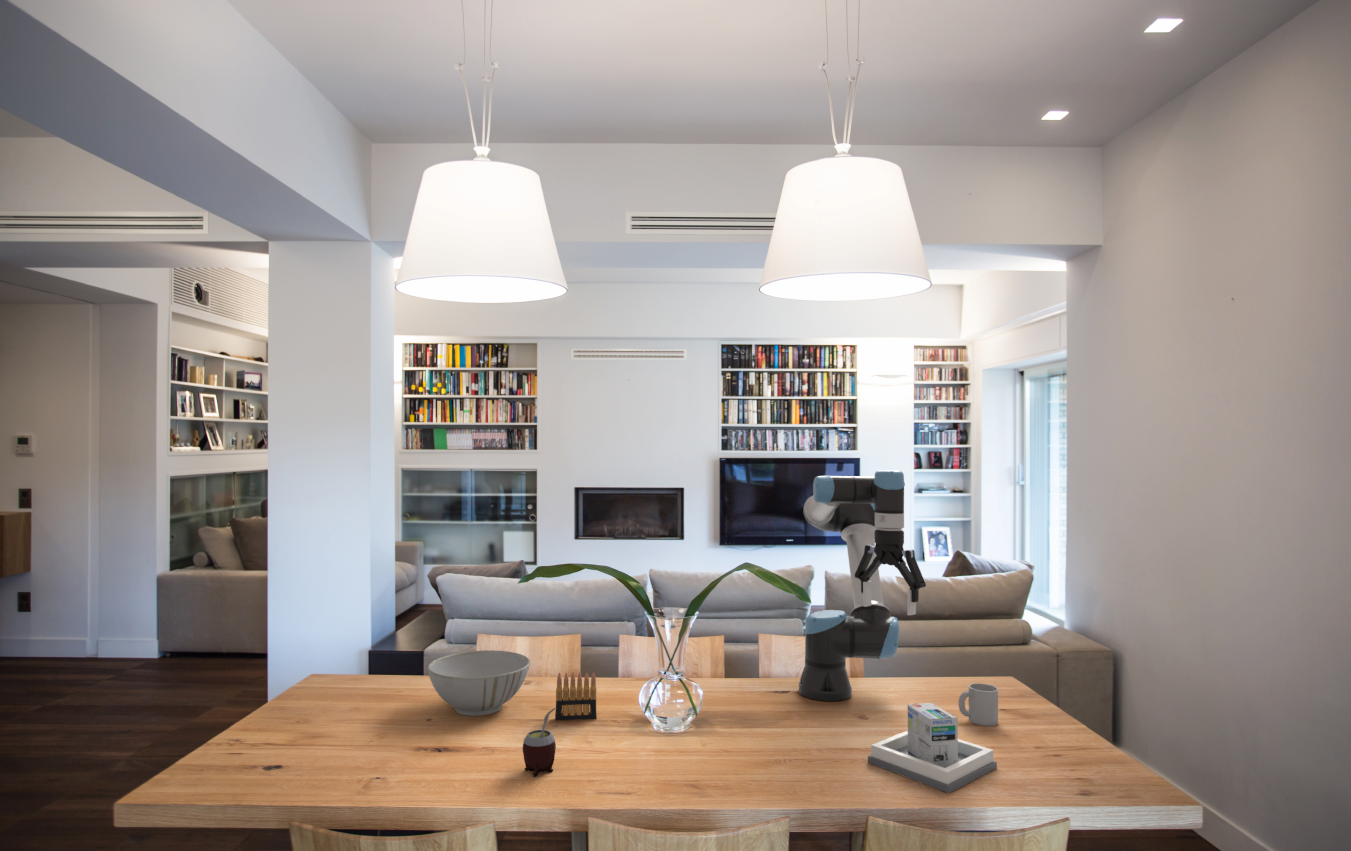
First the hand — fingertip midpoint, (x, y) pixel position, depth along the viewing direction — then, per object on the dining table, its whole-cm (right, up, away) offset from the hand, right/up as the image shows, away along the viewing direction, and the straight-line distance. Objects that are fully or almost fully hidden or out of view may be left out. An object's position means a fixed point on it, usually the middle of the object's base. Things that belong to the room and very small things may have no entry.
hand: (888, 610), depth 204 cm
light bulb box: (+2, -27, -29) cm, 40 cm away
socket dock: (+2, -28, -29) cm, 41 cm away
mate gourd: (-85, -27, -35) cm, 96 cm away
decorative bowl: (-109, -28, +5) cm, 113 cm away
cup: (+23, -29, -1) cm, 37 cm away
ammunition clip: (-82, -28, -2) cm, 87 cm away
